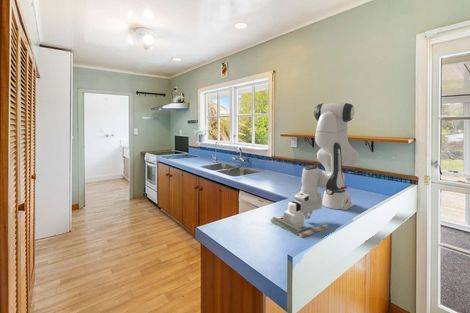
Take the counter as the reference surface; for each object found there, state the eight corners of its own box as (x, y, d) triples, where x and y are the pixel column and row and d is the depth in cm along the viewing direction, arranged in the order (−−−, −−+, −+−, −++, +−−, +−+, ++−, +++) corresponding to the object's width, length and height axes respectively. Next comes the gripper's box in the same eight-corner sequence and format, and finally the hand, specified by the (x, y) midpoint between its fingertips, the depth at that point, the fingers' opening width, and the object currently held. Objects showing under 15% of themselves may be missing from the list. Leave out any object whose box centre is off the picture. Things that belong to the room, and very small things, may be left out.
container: (293, 221, 136) (294, 199, 134) (303, 226, 129) (305, 203, 128) (283, 224, 132) (284, 201, 130) (293, 230, 125) (295, 205, 123)
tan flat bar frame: (295, 214, 146) (295, 210, 146) (327, 228, 128) (327, 222, 128) (270, 221, 135) (270, 216, 135) (301, 237, 117) (301, 231, 117)
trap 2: (309, 227, 129) (310, 226, 129) (314, 229, 126) (314, 228, 126) (297, 231, 123) (297, 231, 123) (301, 234, 121) (301, 233, 121)
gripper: (316, 190, 142) (314, 213, 144) (291, 196, 131) (290, 220, 133) (325, 193, 137) (324, 216, 139) (301, 199, 126) (299, 224, 128)
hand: (307, 218), depth 136 cm, fingers closed
